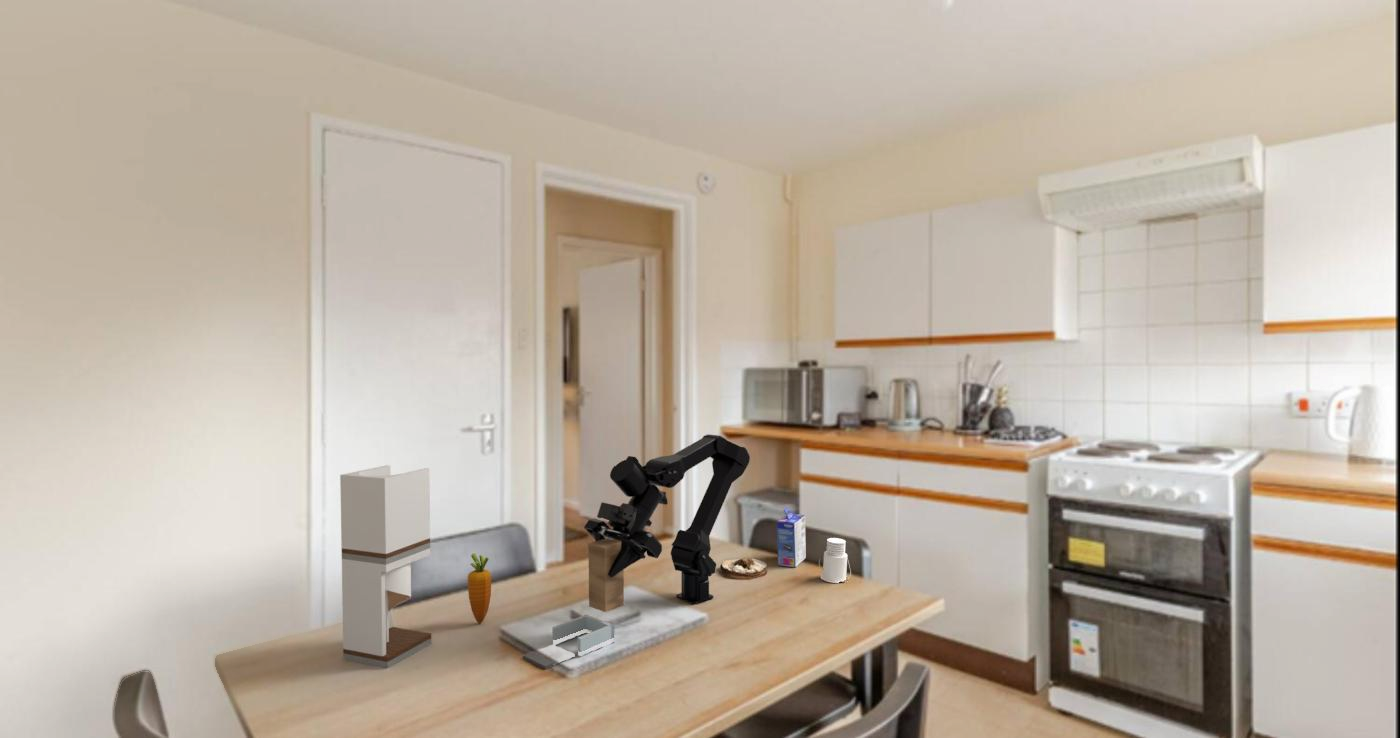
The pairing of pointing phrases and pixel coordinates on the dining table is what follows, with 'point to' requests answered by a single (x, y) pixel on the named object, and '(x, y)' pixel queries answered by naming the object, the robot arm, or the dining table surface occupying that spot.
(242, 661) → the dining table surface
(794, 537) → the ink cartridge box
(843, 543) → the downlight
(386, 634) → the tall white cubby shelf
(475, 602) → the carrot
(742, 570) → the cream topped pie
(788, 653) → the dining table surface
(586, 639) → the sleeve
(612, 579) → the walnut block
